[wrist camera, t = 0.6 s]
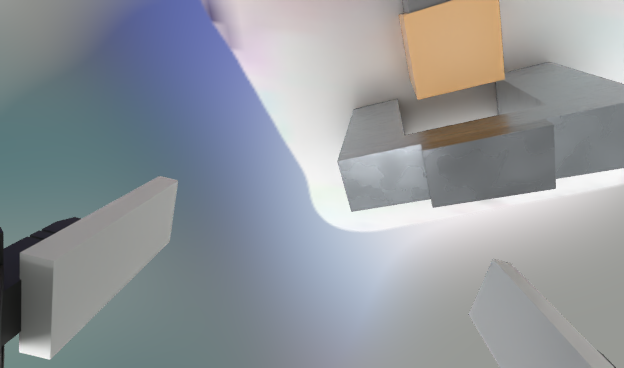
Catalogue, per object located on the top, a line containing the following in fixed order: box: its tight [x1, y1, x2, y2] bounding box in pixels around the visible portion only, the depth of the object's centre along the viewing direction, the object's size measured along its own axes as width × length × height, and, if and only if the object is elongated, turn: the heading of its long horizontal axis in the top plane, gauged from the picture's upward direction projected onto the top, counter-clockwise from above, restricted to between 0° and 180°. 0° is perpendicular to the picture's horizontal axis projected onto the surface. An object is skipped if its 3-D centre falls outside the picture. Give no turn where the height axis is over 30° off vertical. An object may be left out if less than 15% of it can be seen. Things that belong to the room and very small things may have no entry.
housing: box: [338, 62, 624, 212], centre depth 28 cm, size 18×4×16 cm, turn 107°
